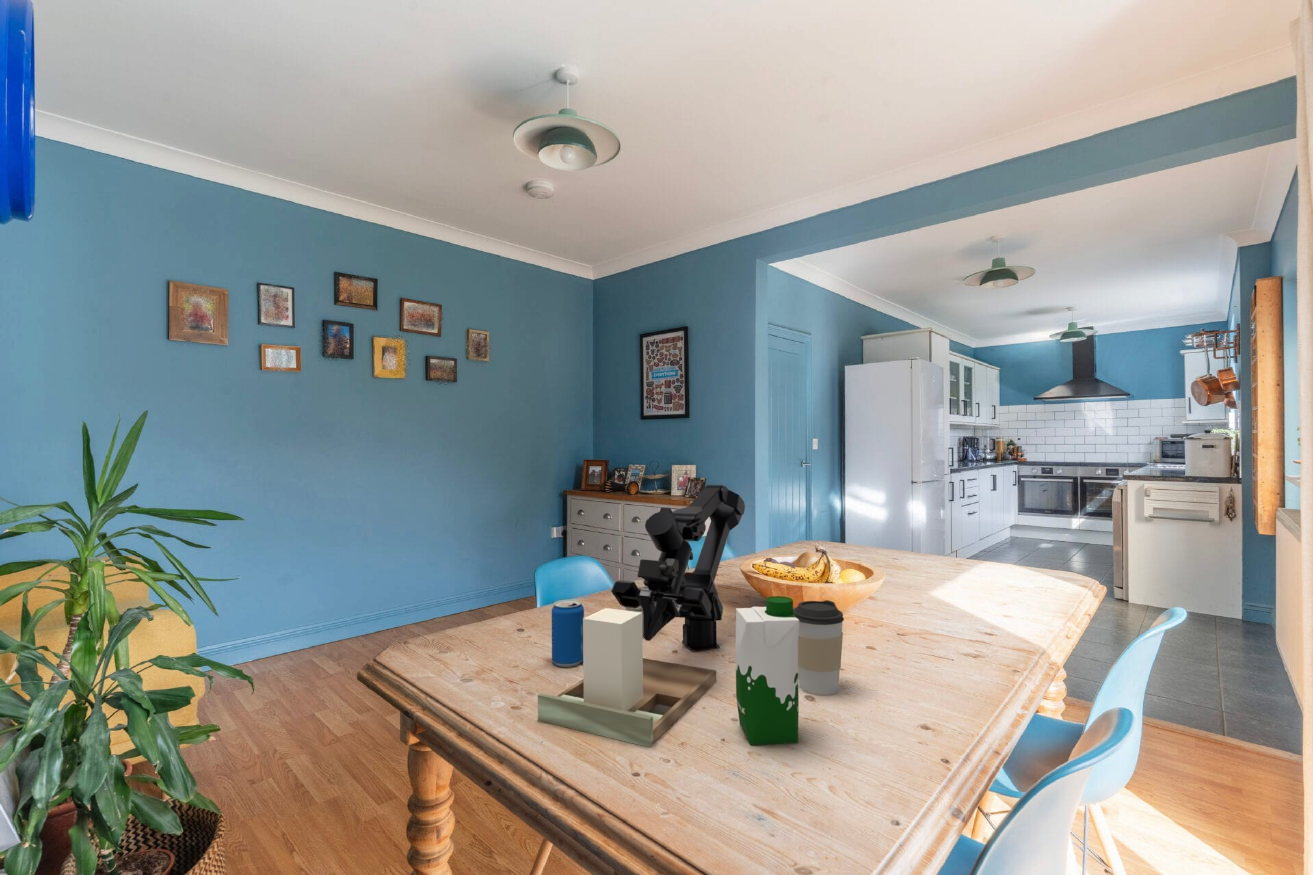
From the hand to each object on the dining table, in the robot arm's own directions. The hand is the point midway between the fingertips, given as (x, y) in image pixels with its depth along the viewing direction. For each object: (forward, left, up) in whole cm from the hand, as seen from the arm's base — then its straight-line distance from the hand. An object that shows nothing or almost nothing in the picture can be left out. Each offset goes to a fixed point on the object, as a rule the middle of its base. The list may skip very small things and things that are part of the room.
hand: (646, 639), depth 107 cm
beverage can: (+11, -18, -9) cm, 23 cm away
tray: (+3, +3, -9) cm, 10 cm away
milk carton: (-12, +22, -9) cm, 27 cm away
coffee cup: (-29, +10, -9) cm, 32 cm away
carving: (-8, -31, -9) cm, 33 cm away
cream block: (+8, +8, -7) cm, 14 cm away
